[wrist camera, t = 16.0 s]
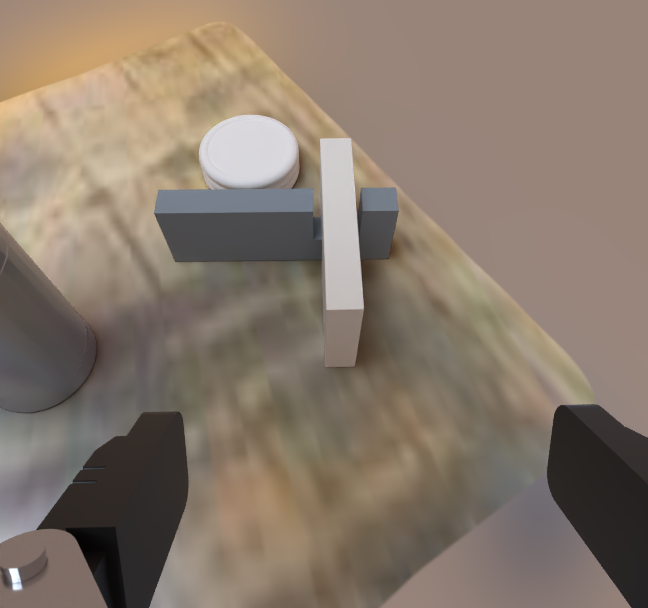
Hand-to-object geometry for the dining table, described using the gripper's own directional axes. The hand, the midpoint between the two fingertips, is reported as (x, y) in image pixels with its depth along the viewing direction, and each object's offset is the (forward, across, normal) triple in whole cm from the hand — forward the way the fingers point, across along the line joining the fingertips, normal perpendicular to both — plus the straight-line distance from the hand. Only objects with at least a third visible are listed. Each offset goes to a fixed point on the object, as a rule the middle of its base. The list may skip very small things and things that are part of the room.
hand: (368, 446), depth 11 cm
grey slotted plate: (+38, +4, +2) cm, 39 cm away
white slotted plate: (+35, -1, +5) cm, 36 cm away
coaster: (+46, +7, -5) cm, 47 cm away
